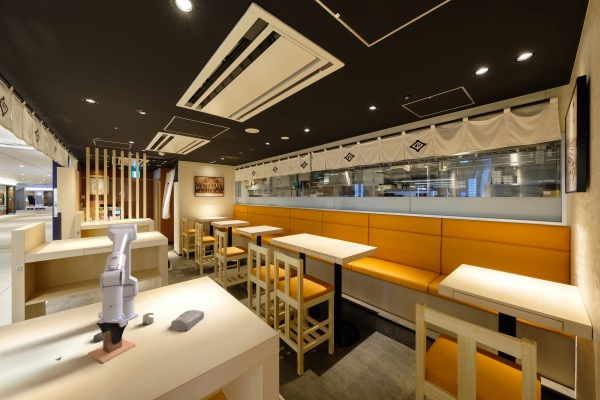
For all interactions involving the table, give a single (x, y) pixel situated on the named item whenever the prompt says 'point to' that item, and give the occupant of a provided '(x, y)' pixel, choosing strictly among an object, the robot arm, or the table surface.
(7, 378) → the table surface
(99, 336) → the black rubber puck
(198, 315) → the stone block
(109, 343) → the walnut block
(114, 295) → the robot arm
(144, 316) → the brushed metal tin
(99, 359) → the terracotta tile
